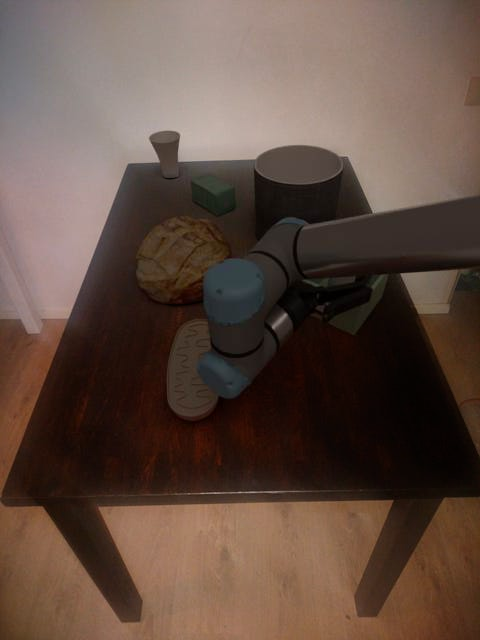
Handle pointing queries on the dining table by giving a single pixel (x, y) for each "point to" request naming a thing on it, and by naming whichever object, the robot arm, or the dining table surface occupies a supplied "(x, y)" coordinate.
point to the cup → (166, 150)
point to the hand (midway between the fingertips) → (338, 252)
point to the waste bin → (355, 316)
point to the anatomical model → (189, 373)
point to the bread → (179, 259)
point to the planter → (296, 185)
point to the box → (213, 194)
